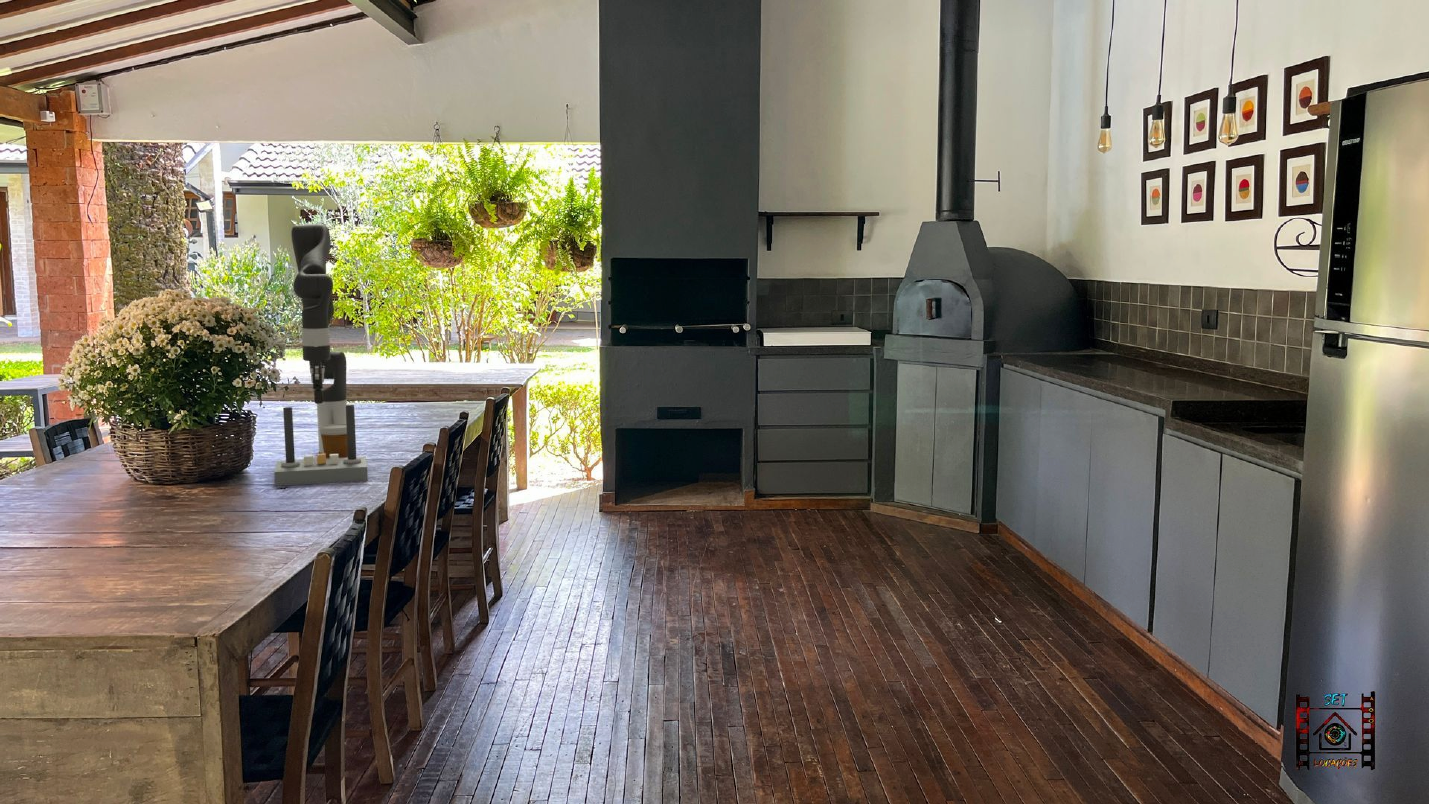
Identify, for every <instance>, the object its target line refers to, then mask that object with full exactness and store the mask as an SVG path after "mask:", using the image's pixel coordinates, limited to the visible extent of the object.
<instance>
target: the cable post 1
mask: <svg viewBox="0 0 1429 804" xmlns="http://www.w3.org/2000/svg"><path fill="white" fill-rule="evenodd" d="M282 410H283V411H282V413H283V414H282V415H283V428H284V448H285V460H283V461H284V462H281V467H297V466H300V461H295V460H296V458H295V441H294V440H295V438H294V437H295V436H294V419H293V418H294V415H293V407H292V406H291V407H289V406H287V407H286V406H285V407H283V408H282Z"/></svg>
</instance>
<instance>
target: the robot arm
mask: <svg viewBox="0 0 1429 804" xmlns="http://www.w3.org/2000/svg"><path fill="white" fill-rule="evenodd" d="M291 243H292V246H293V247H292V248H293V253H294V258H295V263H296V267H297V274H296V276H295V278H294V281H293V291H294V294H295V295H296V297H298V298H299V299H301V305H302V311H301V328H302V331H301V332H302V333H301V347H302V349H301V350H302V360H303V361H306V362H309V373H310V378H311V379H310V380H311V381H310V382H311V384H312V391H313V395H314V397H313V398H314V403H315V404H316V415H317V417H316V418H317V433H318V434H317V437H318V452H319V454H324V449H323V443H322V437H321V434H320V432H319V430H320V427H321V426H323V425H328V424H346V405H348V404H347V403H348V402H347V357H346V354H345V353H344V352H343V351H341V350H331V345H330V344H331V339H330V338H331V337H330V332H329V325H330V324H331V322H332V319H333V317H334V315H335V307H334V299H333V290H334V281H333V279H332V278H331V276H330V275H328V274H327V262H328V258H329V257H330V251H331V244H332V242H331V234H330V230H329V227H327V226H326V225H325V224H323V223H312V224H311V223H310V224H308V223H307V224H296V225H294V226H292V228H291ZM325 380H333V384H332V385H330V386H328V387H326V388H324V383H325Z"/></svg>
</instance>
